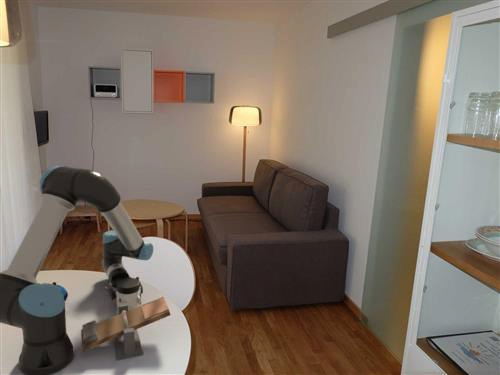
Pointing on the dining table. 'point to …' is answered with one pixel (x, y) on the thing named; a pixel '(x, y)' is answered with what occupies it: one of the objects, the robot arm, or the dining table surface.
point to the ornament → (62, 291)
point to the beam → (122, 323)
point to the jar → (128, 292)
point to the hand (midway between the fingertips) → (133, 302)
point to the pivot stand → (127, 341)
